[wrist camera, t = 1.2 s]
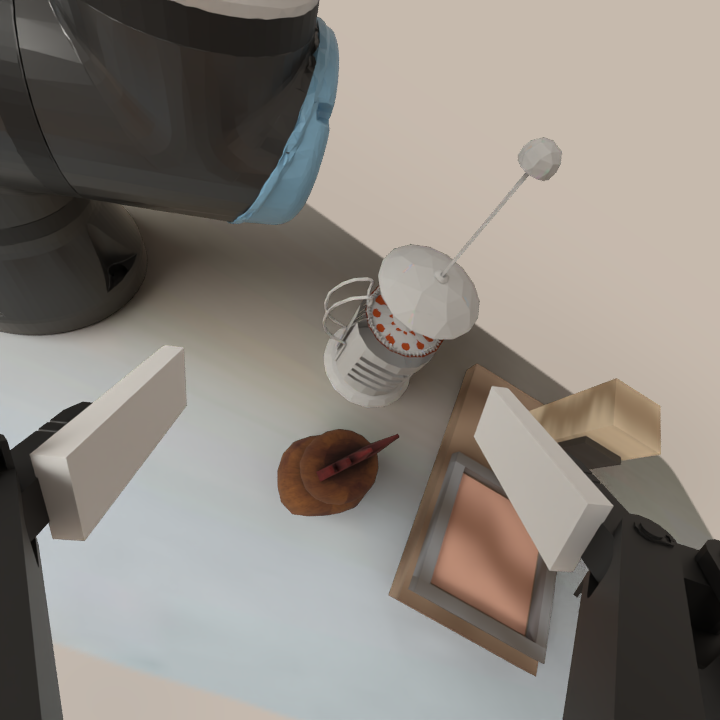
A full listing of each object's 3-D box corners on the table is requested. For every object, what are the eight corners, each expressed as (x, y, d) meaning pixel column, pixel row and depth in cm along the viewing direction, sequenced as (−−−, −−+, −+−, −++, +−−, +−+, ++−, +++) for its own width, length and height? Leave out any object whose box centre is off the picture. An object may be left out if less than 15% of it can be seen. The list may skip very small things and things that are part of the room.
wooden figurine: (346, 445, 33) (418, 395, 20) (351, 511, 31) (437, 505, 18) (272, 448, 31) (298, 395, 18) (272, 520, 28) (302, 520, 15)
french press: (411, 414, 36) (671, 256, 15) (300, 398, 33) (418, 171, 12) (410, 331, 40) (609, 115, 19) (311, 311, 37) (412, 25, 16)
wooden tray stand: (518, 667, 30) (738, 782, 17) (388, 595, 29) (512, 656, 16) (558, 426, 42) (704, 383, 29) (466, 370, 41) (574, 299, 28)
